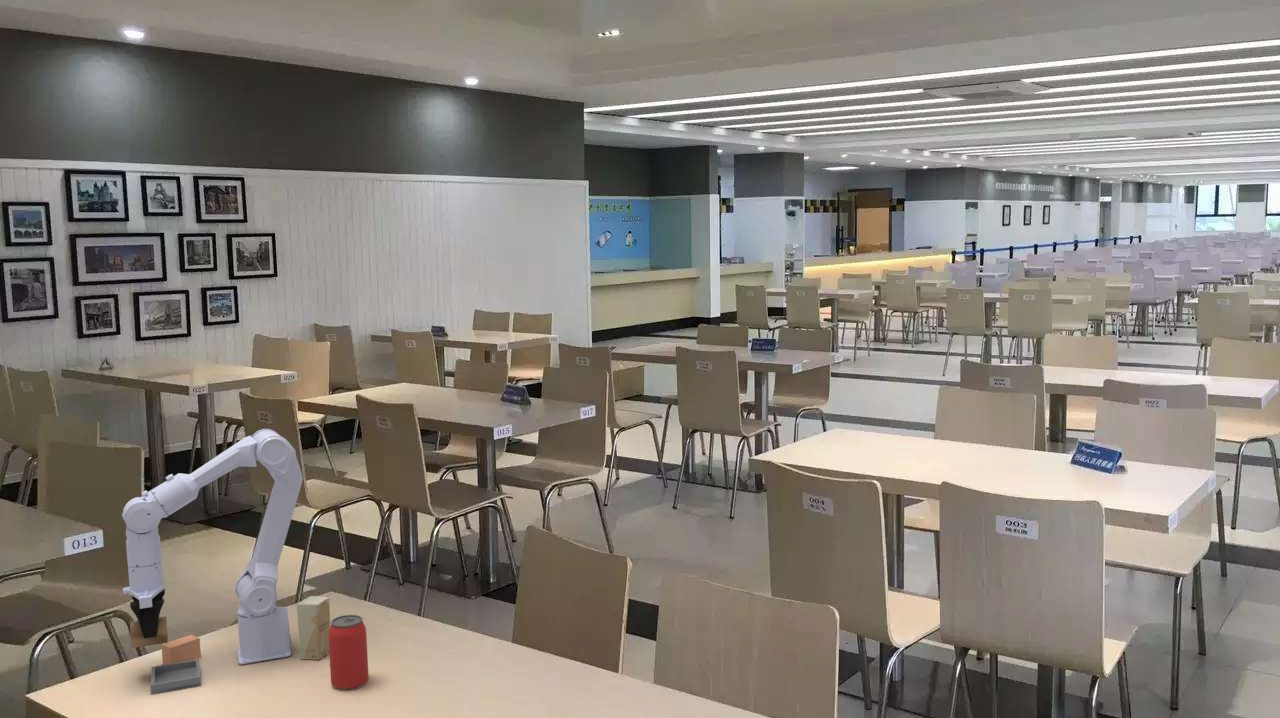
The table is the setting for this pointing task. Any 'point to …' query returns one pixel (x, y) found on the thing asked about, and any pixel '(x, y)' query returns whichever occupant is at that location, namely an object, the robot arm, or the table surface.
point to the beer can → (348, 652)
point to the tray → (175, 676)
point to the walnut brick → (140, 641)
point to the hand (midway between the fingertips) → (150, 633)
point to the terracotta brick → (181, 650)
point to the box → (314, 627)
